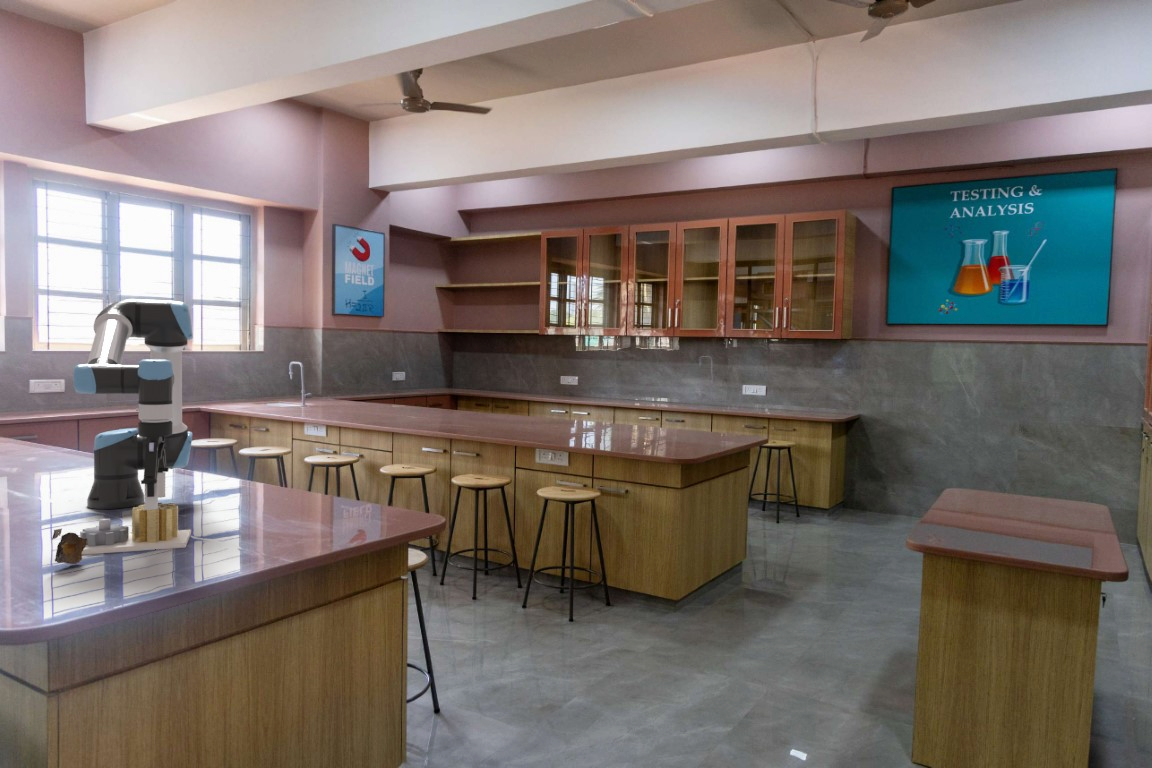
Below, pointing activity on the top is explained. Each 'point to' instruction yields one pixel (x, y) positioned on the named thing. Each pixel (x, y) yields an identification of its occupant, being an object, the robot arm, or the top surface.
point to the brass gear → (155, 523)
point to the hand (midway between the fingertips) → (155, 503)
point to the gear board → (124, 539)
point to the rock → (69, 547)
